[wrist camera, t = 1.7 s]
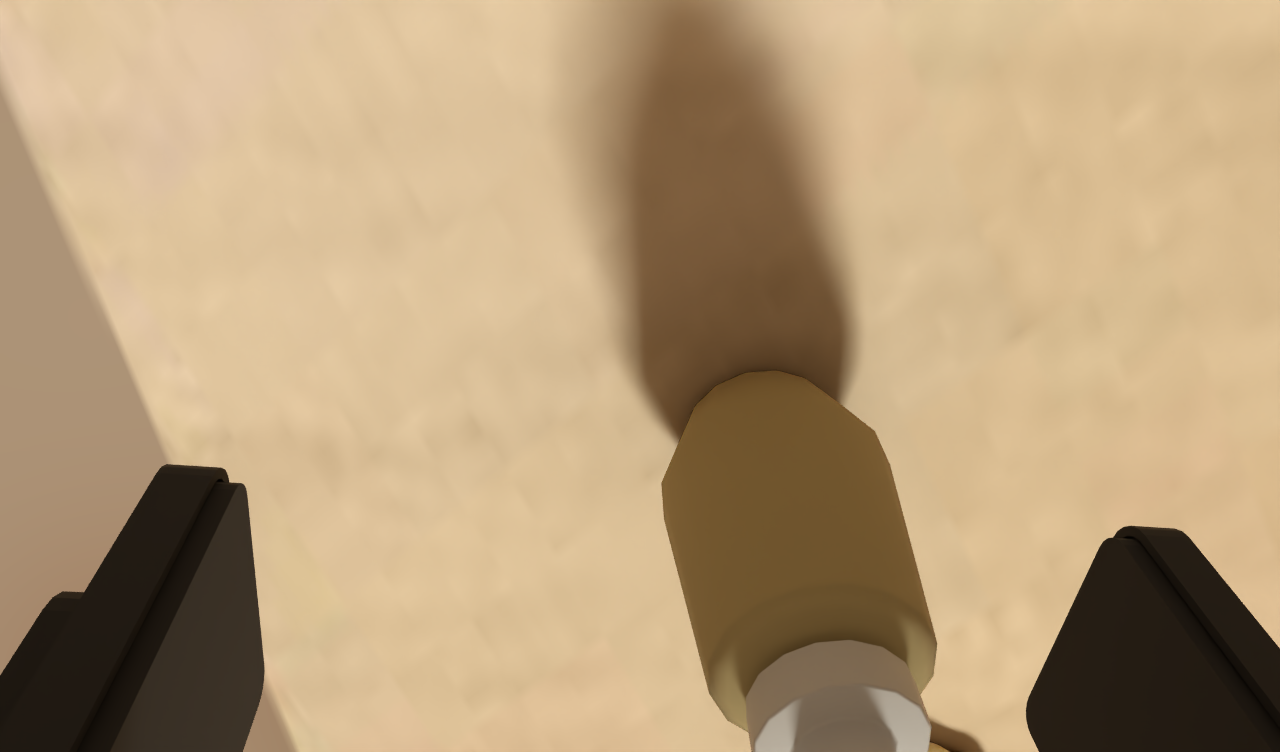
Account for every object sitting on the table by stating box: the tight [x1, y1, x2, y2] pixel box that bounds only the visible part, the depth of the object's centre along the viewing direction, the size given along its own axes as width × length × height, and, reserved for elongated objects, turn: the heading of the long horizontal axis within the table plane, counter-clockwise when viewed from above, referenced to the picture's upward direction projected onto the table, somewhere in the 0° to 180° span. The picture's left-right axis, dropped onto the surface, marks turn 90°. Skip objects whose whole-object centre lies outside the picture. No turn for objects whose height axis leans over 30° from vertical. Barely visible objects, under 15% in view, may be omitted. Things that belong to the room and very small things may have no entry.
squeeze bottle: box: [662, 370, 937, 752], centre depth 30 cm, size 8×8×18 cm
